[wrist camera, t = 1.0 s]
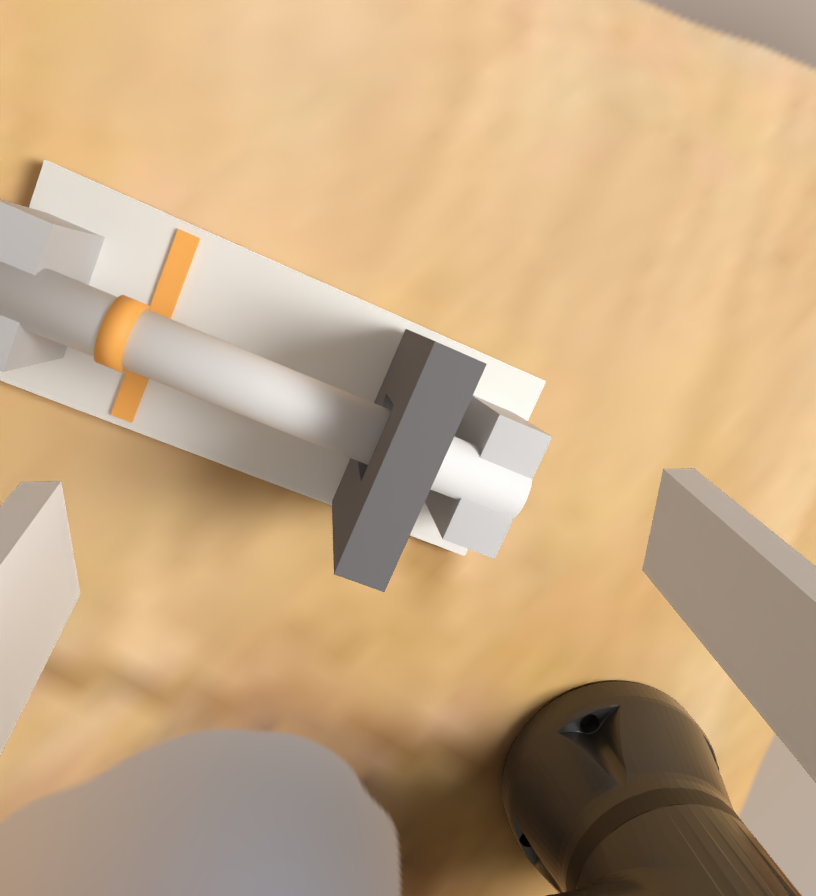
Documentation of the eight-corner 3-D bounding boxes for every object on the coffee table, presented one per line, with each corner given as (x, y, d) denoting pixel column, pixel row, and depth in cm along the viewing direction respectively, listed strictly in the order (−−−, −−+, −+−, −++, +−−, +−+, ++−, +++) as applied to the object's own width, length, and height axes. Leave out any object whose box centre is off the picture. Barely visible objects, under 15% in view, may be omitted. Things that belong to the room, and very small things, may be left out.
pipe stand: (540, 378, 43) (596, 401, 34) (461, 549, 45) (494, 612, 36) (53, 163, 37) (-34, 121, 28) (-15, 368, 39) (-116, 390, 30)
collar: (443, 345, 40) (486, 363, 29) (369, 515, 41) (384, 592, 31) (405, 328, 39) (435, 341, 28) (332, 501, 41) (334, 574, 30)
